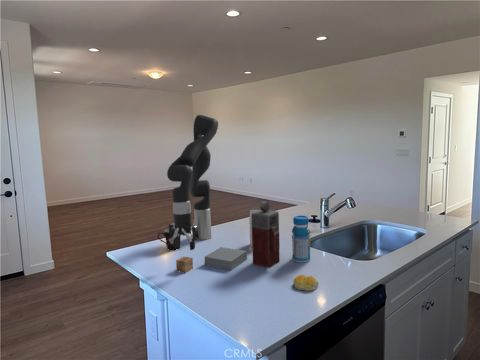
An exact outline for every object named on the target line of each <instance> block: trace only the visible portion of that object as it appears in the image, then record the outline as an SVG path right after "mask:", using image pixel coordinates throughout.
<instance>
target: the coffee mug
mask: <svg viewBox="0 0 480 360" xmlns="http://www.w3.org/2000/svg"><path fill="white" fill-rule="evenodd" d="M163 231H164V232H159V233H157V238H158V240H159V241H160V242H162V243H164V244H166V247H167V250H168V249H169V250H168V251H170V250H174V251H177V250H176V249H178V250H180V249H181V236H182V235H179V237H178V241H179V247H177V248H175V247H174V243H173V238H170V237H169V227H168V228H165V229H164V230H163ZM175 231H176V229H175ZM160 235H163V236H164V237H165V241H164V240H163V239H161V238H160V237H159V236H160ZM179 248H180V249H179Z"/></svg>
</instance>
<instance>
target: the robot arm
mask: <svg viewBox="0 0 480 360" xmlns="http://www.w3.org/2000/svg"><path fill="white" fill-rule="evenodd" d="M218 129H219V121H218V119H216V118H213V117H210V116H207V115H204V114H197V115H196V116H195V119H194V121H193V131H192V133H193V141H192V142H190V143H188V144H187V145H186V146H185V148H184V149H183V151H182V152H181V154H180V156H179V157H177V159H175V160H174V161H173V162H172V163H171V164H170V166H169V167H168V169H167V172H166V176H167V179H168V180H169V181H171V182H175V183H177V182H180V185H179V186H177V187H174V188H173V189H172V202H173V203H172V214H173V222H171V223H170V224H168V228H169V237H170V238H173V243H174V247H175V248H177V247H179V241H178V237H179V235H181V236H183V237H184V236H185V237H186V238H187V239H188V241H189V250H190V251H193V250H195V248H196V241H197V240H198V241H200V240H201V241H204V240H209V239H211V238H212V219H211V196H210V195H211V186H210V185H211V184H210V182H209V180H207V179H204V180H201V177H202V176H203V175H204V174H205V173H206V172H207V171H208V169H209V168H210V166H211V155H212V154H211V152H210V149H209V148H208V145H209V143H210V142H211V141H212V139H213V138H214V137H215V136H216V134H217V132H218ZM190 196H191V197H192V198H200V197H202V199H201V200H199V201H197V202H195V203H194V204H193V213H194V216H193V217H194V221H193V222H192V206H191V205H192V204H191V199H190ZM175 229H176V231H175Z"/></svg>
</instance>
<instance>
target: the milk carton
mask: <svg viewBox="0 0 480 360" xmlns="http://www.w3.org/2000/svg"><path fill="white" fill-rule="evenodd" d="M260 210H261V209H250V211H249V247H250V248H252V218H251V215H252V213H254V212H257V211H260Z"/></svg>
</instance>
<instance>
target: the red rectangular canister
mask: <svg viewBox="0 0 480 360" xmlns="http://www.w3.org/2000/svg"><path fill="white" fill-rule="evenodd" d="M259 210H260V211H257V212H254V213H252V215H251V218H252V247H251V249H252V265H256V266H260V267H263V268H264V267H265V268H268V269H269V268H272V267H274V265H277V264H278V263H280V260H281V259H280V257H281V255H280V216H279V215H280V213H279V211H276V210H270V203H269V201H261V203H260V205H259Z"/></svg>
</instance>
